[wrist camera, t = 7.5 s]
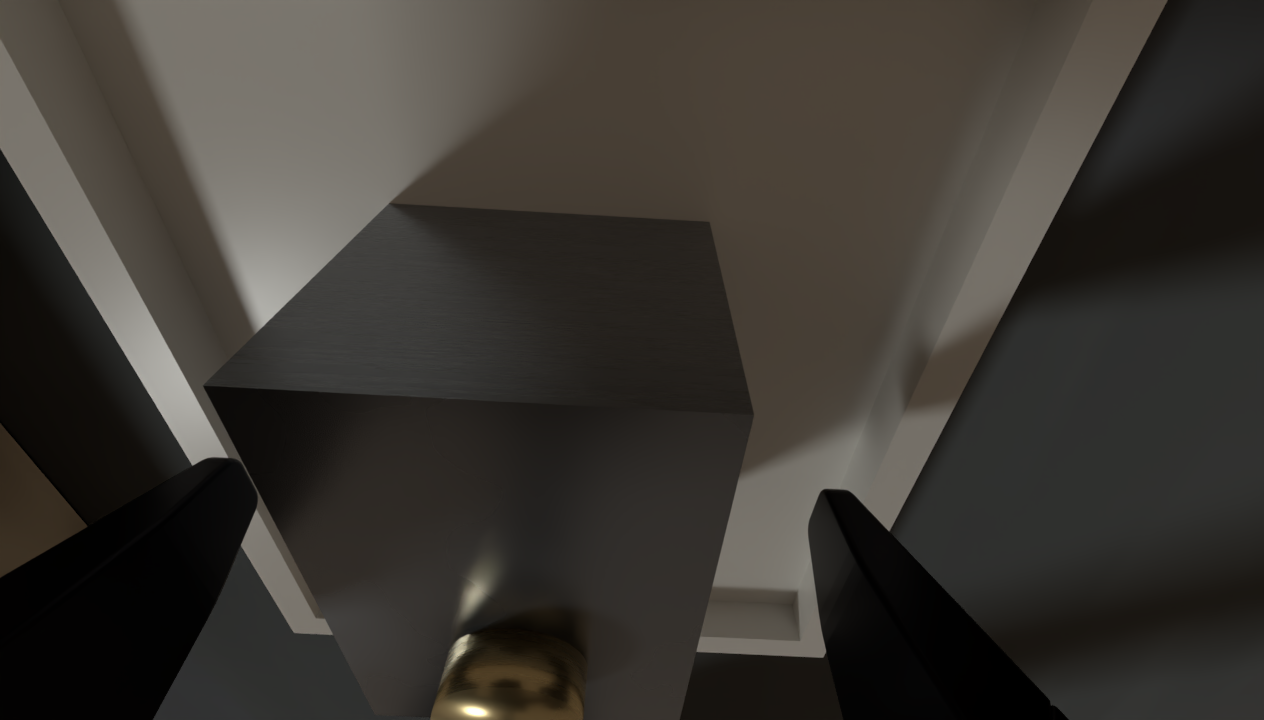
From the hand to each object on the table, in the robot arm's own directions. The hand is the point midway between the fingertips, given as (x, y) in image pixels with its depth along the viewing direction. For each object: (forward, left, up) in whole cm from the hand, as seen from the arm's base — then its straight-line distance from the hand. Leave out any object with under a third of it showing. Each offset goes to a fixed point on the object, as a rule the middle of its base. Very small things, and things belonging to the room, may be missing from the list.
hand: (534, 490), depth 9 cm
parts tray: (0, 0, -3) cm, 3 cm away
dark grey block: (0, 0, -3) cm, 3 cm away
